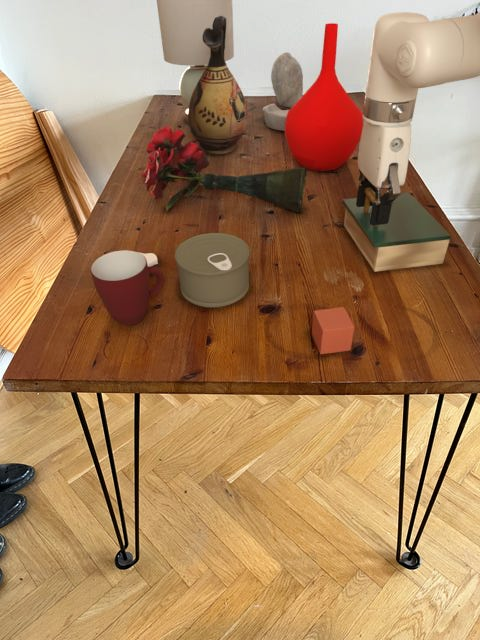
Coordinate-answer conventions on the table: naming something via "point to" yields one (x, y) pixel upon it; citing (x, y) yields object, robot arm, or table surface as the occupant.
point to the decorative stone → (287, 80)
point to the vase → (324, 117)
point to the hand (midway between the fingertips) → (371, 213)
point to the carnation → (189, 161)
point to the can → (213, 269)
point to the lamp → (192, 36)
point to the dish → (275, 117)
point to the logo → (150, 259)
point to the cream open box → (396, 250)
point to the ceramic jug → (217, 99)
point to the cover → (397, 222)
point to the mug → (125, 284)
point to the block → (332, 330)
